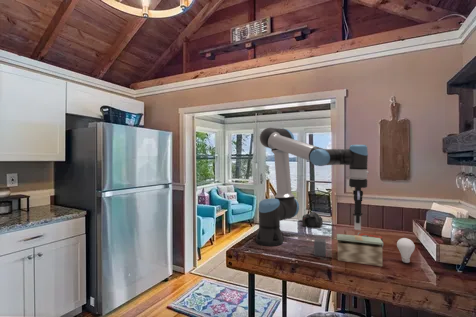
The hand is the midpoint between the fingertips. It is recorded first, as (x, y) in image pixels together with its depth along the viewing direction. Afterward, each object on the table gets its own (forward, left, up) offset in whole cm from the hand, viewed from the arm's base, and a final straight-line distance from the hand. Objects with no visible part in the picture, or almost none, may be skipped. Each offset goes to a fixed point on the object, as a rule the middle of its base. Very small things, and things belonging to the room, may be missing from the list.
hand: (357, 229), depth 117 cm
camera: (-25, +47, -14) cm, 56 cm away
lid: (0, +1, -5) cm, 5 cm away
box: (0, +1, -14) cm, 14 cm away
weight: (-17, 0, -14) cm, 22 cm away
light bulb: (+19, +3, -14) cm, 24 cm away
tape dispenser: (+4, +19, -15) cm, 25 cm away
